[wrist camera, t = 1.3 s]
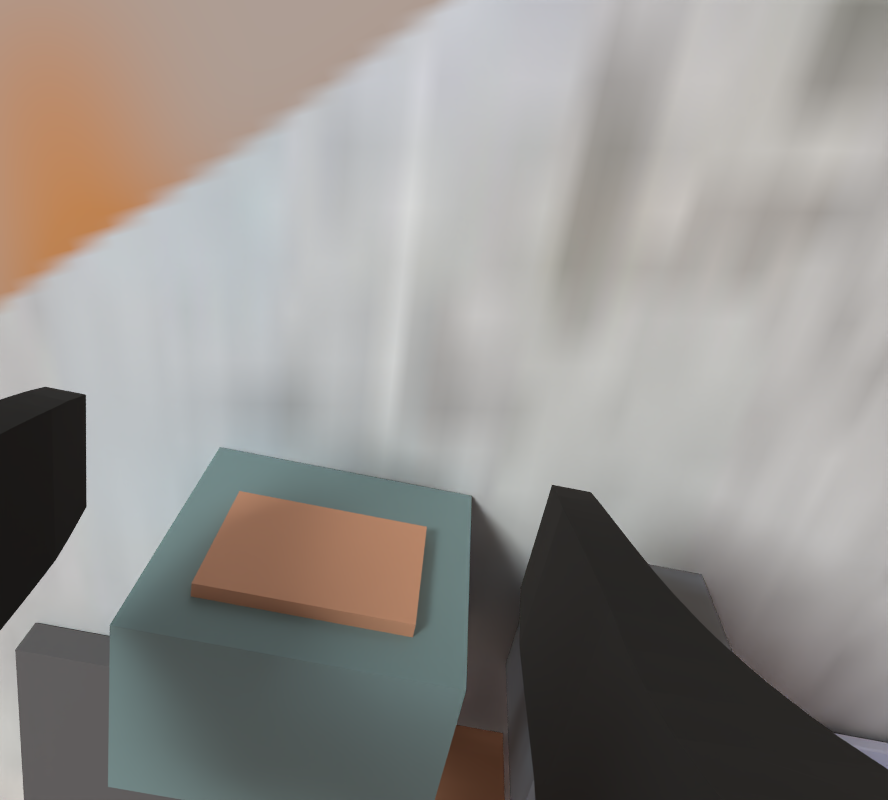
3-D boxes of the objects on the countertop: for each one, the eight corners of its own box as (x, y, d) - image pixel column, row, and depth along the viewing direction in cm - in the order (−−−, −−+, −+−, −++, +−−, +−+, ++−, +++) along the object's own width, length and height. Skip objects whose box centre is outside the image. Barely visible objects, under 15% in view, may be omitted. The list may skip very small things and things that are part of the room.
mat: (258, 663, 21) (247, 691, 20) (240, 808, 24) (230, 839, 23) (35, 623, 21) (15, 649, 20) (41, 774, 24) (24, 804, 23)
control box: (474, 485, 18) (469, 677, 13) (434, 641, 21) (417, 860, 15) (220, 436, 18) (110, 611, 13) (207, 599, 20) (108, 807, 15)
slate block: (701, 573, 19) (767, 740, 15) (651, 690, 21) (696, 870, 17) (543, 543, 19) (561, 703, 15) (505, 663, 21) (511, 839, 16)
